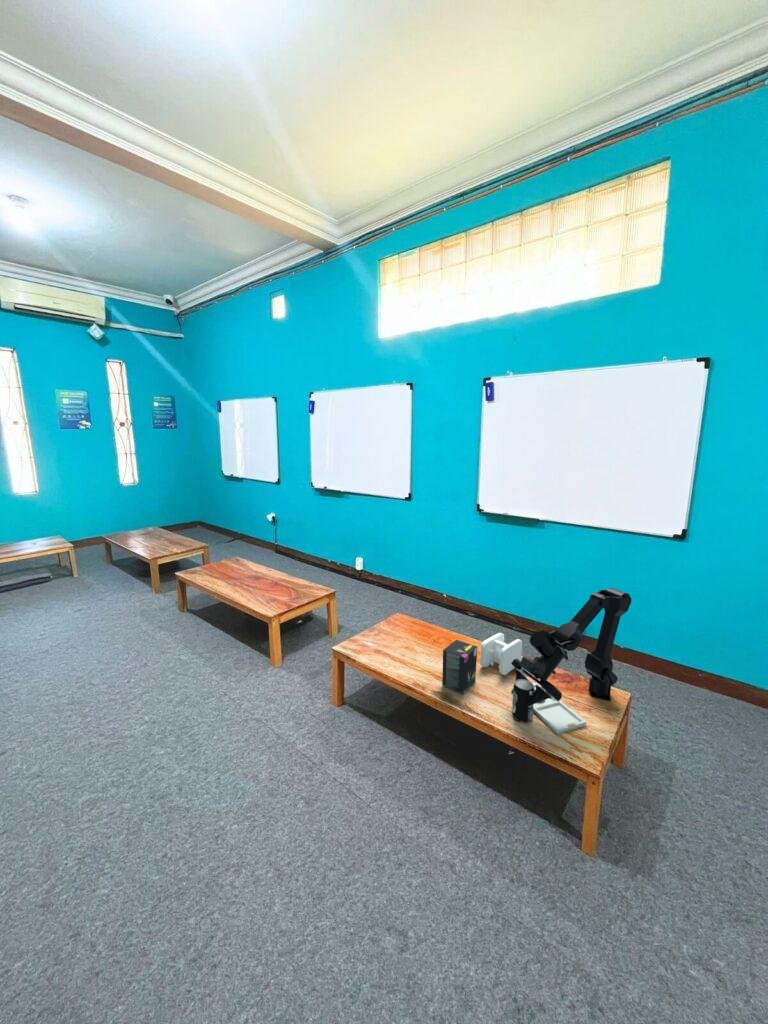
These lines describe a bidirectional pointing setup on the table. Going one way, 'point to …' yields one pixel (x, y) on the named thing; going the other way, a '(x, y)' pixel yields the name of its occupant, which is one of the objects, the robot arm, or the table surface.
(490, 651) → the cable organizer
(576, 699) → the table surface
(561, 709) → the white divided tray
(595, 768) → the table surface
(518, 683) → the beverage can
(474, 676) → the tampon box
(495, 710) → the table surface
